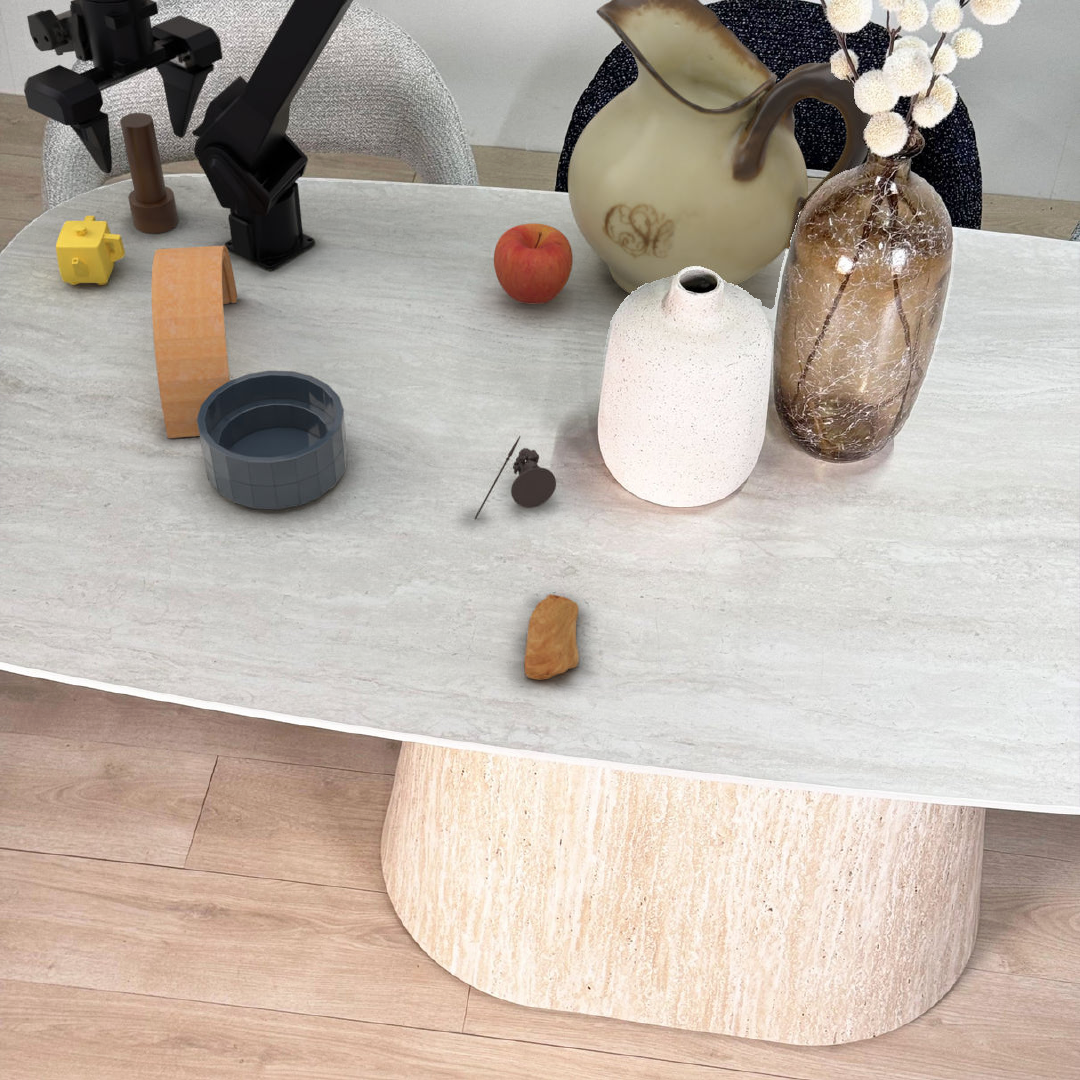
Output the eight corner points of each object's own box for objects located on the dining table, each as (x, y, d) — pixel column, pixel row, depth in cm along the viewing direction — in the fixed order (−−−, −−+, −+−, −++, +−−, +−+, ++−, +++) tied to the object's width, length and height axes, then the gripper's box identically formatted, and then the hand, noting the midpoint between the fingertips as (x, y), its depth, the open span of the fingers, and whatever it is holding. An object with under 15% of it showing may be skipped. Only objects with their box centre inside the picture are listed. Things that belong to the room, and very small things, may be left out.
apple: (549, 270, 124) (553, 197, 119) (582, 310, 120) (588, 236, 114) (480, 285, 122) (481, 212, 116) (512, 327, 117) (515, 252, 112)
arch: (239, 296, 119) (225, 201, 112) (236, 433, 105) (220, 334, 98) (176, 300, 118) (157, 204, 111) (165, 438, 104) (143, 339, 97)
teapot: (120, 299, 118) (109, 251, 115) (57, 299, 118) (44, 251, 114) (135, 252, 124) (125, 205, 120) (75, 252, 123) (63, 205, 120)
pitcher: (542, 216, 131) (558, -29, 113) (759, 206, 135) (808, -32, 117) (584, 348, 116) (611, 90, 98) (828, 333, 120) (896, 82, 102)
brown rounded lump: (495, 666, 89) (556, 701, 88) (498, 649, 88) (560, 684, 87) (547, 594, 94) (606, 626, 93) (551, 576, 92) (611, 609, 91)
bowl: (276, 405, 108) (269, 353, 104) (375, 459, 104) (372, 407, 100) (178, 474, 102) (166, 421, 98) (279, 535, 97) (271, 482, 93)
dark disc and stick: (519, 435, 96) (502, 407, 99) (473, 518, 99) (458, 489, 102) (577, 451, 99) (559, 423, 102) (531, 531, 102) (515, 502, 105)
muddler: (158, 206, 130) (138, 104, 122) (187, 220, 128) (170, 118, 120) (124, 223, 127) (102, 121, 120) (154, 238, 126) (134, 135, 118)
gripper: (131, -62, 120) (160, 95, 131) (-37, -3, 109) (9, 163, 120) (214, -32, 116) (236, 128, 127) (47, 34, 105) (88, 202, 116)
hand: (143, 153), depth 122 cm, fingers open, 9 cm apart
